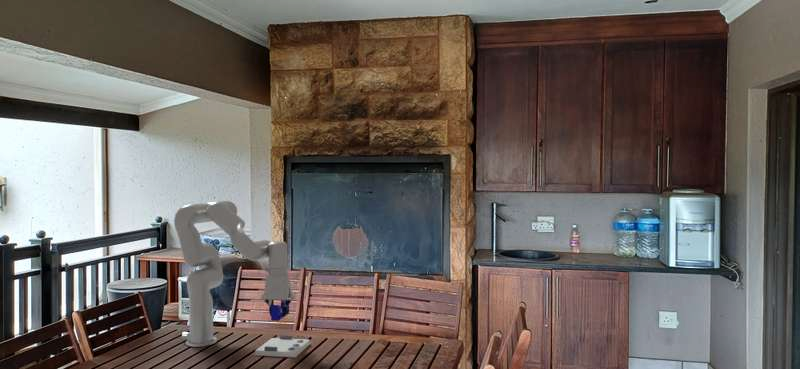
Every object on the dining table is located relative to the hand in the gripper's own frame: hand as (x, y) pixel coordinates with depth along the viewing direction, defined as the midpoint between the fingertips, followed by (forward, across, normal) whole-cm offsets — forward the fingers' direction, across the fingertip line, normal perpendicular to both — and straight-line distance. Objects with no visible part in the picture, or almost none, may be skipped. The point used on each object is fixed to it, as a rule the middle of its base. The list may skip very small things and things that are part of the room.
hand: (278, 315), depth 223 cm
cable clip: (+1, 0, 0) cm, 1 cm away
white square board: (+14, +2, 0) cm, 14 cm away
